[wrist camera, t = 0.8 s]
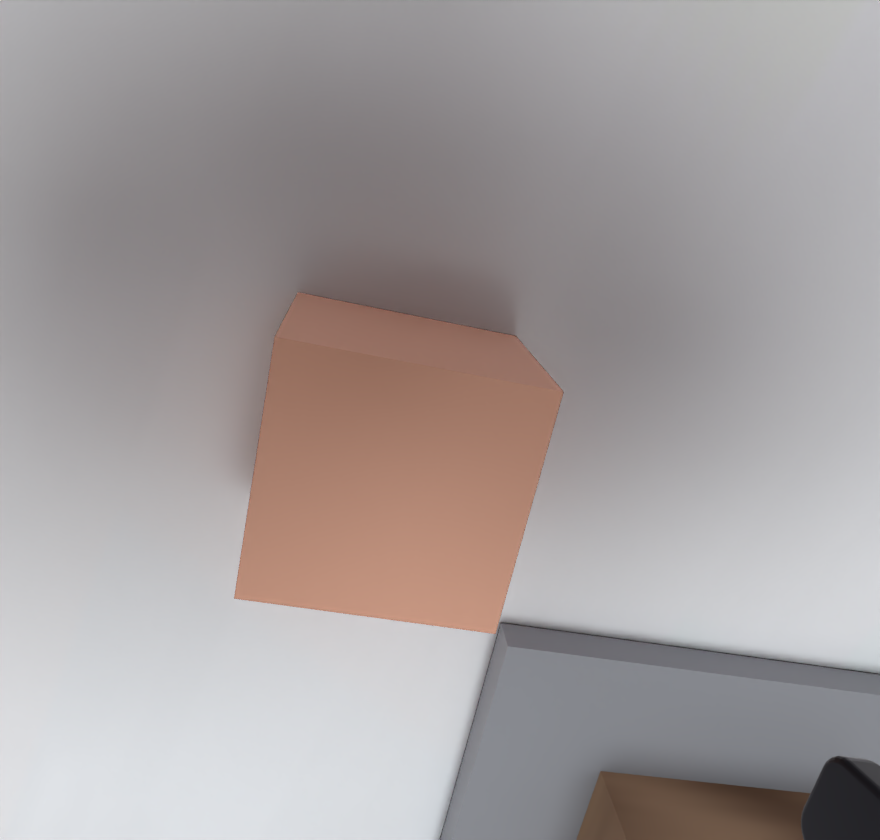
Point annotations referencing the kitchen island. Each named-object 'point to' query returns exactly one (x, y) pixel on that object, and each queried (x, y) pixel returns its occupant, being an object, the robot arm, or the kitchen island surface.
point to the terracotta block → (394, 466)
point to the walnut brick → (688, 810)
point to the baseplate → (643, 727)
